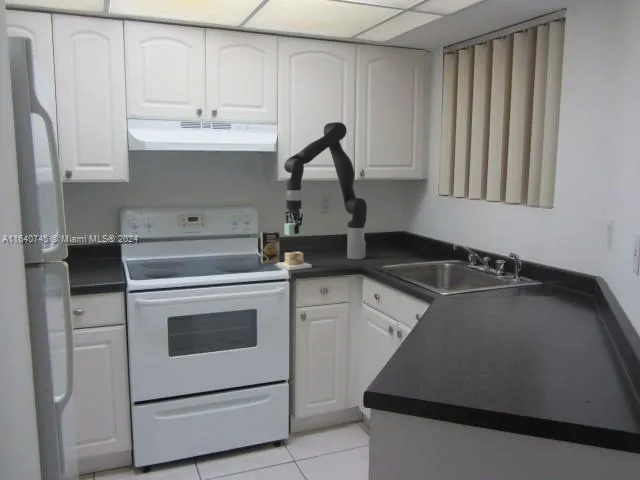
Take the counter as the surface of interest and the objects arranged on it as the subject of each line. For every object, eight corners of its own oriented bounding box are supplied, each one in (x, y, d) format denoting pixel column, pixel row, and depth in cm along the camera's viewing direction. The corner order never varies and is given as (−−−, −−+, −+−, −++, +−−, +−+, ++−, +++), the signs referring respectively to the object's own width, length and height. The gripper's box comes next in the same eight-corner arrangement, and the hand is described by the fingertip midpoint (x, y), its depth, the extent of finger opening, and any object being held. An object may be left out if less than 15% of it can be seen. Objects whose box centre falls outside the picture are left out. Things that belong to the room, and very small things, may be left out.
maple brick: (298, 262, 273) (298, 251, 272) (303, 263, 269) (303, 253, 268) (284, 263, 269) (284, 252, 268) (289, 265, 265) (289, 254, 264)
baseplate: (298, 263, 278) (298, 260, 278) (311, 267, 267) (311, 264, 267) (276, 265, 271) (276, 262, 271) (288, 270, 260) (288, 267, 260)
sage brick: (298, 233, 271) (298, 222, 270) (303, 234, 267) (303, 223, 266) (284, 234, 267) (284, 223, 266) (289, 235, 262) (289, 224, 262)
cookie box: (262, 264, 275) (262, 233, 273) (260, 261, 282) (260, 231, 279) (279, 263, 278) (279, 232, 275) (277, 260, 284) (277, 231, 282)
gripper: (307, 199, 260) (307, 234, 262) (293, 198, 272) (293, 230, 275) (294, 200, 256) (294, 235, 259) (280, 198, 268) (280, 231, 271)
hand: (293, 232), depth 267 cm, fingers closed on sage brick, 5 cm apart
